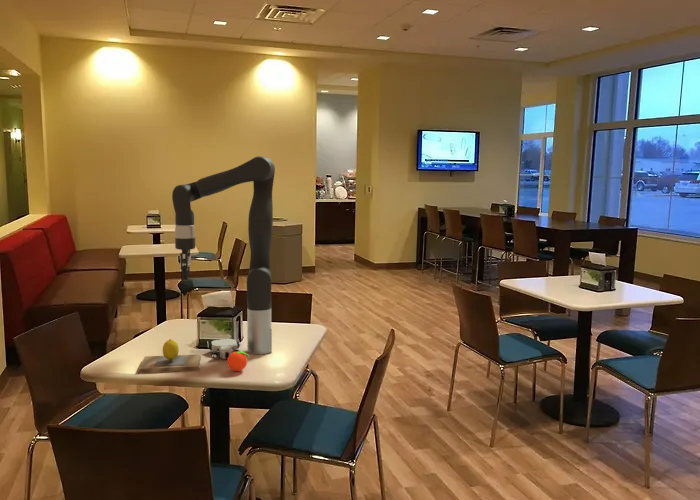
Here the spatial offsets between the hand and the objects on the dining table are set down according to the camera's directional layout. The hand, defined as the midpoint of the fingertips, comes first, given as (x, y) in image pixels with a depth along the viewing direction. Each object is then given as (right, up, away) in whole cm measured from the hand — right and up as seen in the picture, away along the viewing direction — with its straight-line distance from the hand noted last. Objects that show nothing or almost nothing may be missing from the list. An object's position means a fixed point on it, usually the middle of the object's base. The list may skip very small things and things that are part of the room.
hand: (185, 277), depth 232 cm
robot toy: (+16, -30, -4) cm, 34 cm away
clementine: (+25, -32, -22) cm, 46 cm away
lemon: (-1, -29, -18) cm, 34 cm away
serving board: (-1, -31, -17) cm, 35 cm away
